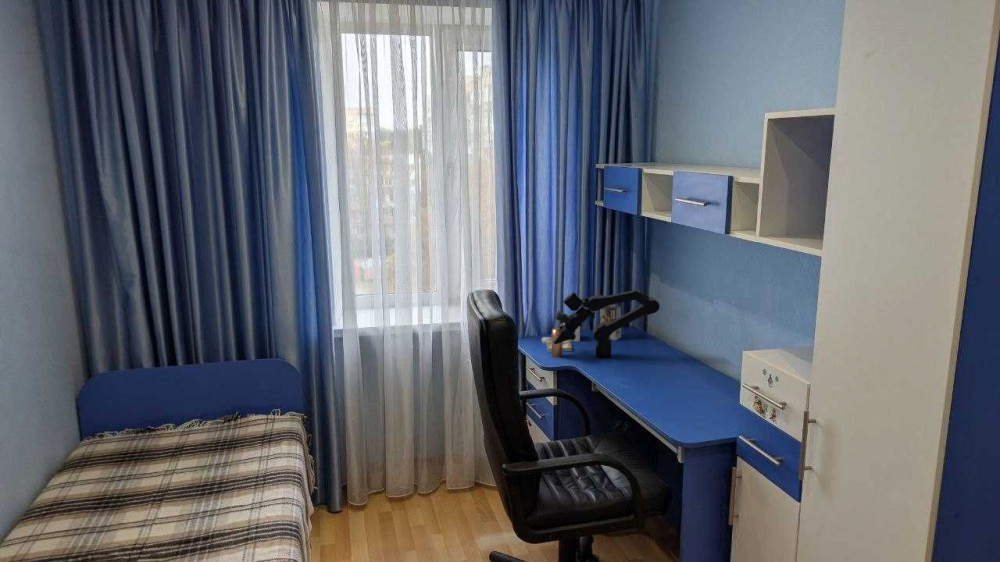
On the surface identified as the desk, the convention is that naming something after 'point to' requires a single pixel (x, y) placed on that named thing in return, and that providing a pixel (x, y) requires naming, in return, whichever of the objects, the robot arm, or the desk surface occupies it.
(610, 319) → the coffee box
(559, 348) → the copper cylinder
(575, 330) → the block
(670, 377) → the desk surface
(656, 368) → the desk surface
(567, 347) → the tray
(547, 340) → the flattened gray dome
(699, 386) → the desk surface
